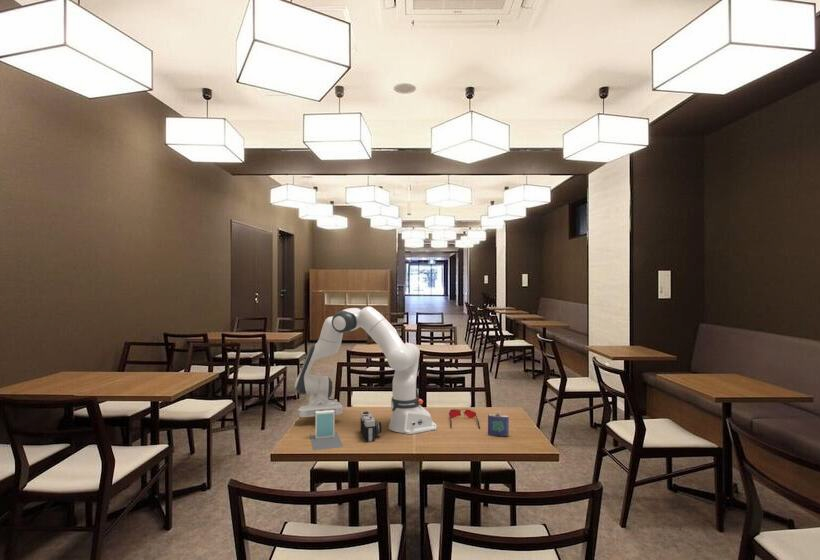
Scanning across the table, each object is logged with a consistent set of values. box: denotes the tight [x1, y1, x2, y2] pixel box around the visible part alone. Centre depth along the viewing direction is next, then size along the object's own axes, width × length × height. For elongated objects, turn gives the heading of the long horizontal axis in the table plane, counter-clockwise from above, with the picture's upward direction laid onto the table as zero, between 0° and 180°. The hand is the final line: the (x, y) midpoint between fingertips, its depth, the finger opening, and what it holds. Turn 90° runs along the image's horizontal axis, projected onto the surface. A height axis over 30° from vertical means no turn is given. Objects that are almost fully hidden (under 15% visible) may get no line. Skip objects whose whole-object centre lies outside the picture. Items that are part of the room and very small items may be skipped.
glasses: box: [448, 408, 481, 430], centre depth 212 cm, size 14×16×5 cm
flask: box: [487, 411, 510, 438], centre depth 195 cm, size 9×3×11 cm, turn 78°
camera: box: [360, 411, 383, 443], centre depth 191 cm, size 14×9×10 cm, turn 8°
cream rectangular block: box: [314, 410, 336, 438], centre depth 190 cm, size 8×3×11 cm, turn 107°
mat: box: [309, 432, 344, 451], centre depth 185 cm, size 12×18×1 cm, turn 17°
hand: (322, 415), depth 201 cm, fingers closed
